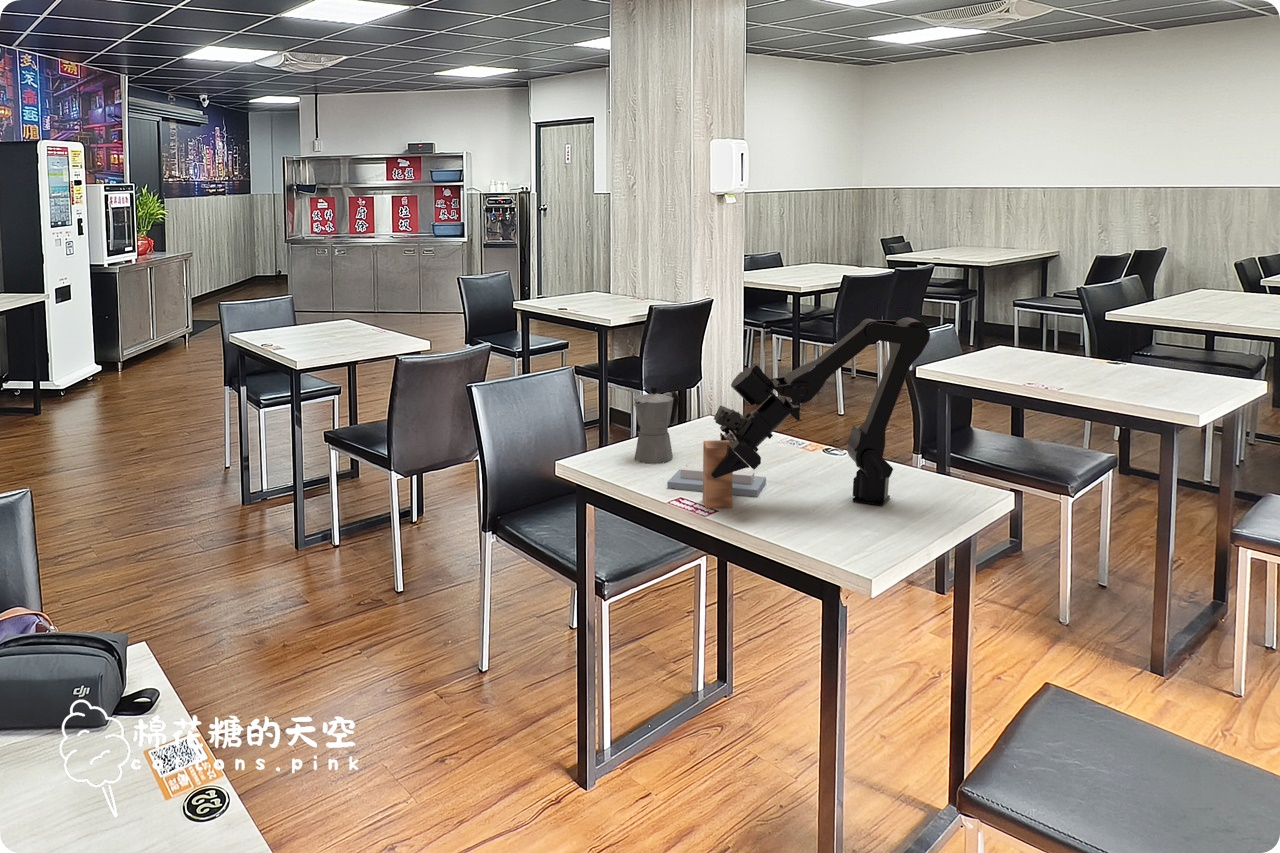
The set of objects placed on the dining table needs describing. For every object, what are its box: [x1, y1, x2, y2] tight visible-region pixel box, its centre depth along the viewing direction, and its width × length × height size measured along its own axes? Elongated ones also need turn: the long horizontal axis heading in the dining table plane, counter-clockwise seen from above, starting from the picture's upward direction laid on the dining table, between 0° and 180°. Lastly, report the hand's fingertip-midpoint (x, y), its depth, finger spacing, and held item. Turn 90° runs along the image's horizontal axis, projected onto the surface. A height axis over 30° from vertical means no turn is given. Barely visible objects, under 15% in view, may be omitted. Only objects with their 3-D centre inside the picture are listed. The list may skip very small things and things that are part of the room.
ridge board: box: [666, 465, 767, 498], centre depth 223 cm, size 20×10×4 cm, turn 72°
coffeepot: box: [633, 385, 680, 464], centre depth 243 cm, size 15×9×18 cm, turn 137°
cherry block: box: [702, 439, 733, 509], centre depth 210 cm, size 5×5×13 cm
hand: (710, 472), depth 210 cm, fingers closed on cherry block, 5 cm apart
